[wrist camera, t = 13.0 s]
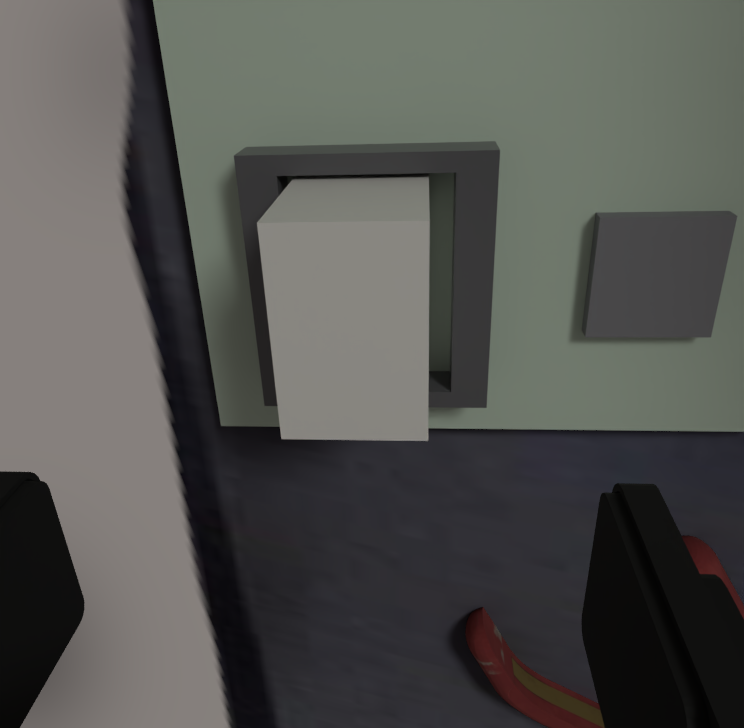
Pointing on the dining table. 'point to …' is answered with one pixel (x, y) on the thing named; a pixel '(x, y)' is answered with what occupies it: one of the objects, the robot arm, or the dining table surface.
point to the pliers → (539, 695)
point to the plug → (349, 305)
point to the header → (469, 254)
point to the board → (501, 185)
